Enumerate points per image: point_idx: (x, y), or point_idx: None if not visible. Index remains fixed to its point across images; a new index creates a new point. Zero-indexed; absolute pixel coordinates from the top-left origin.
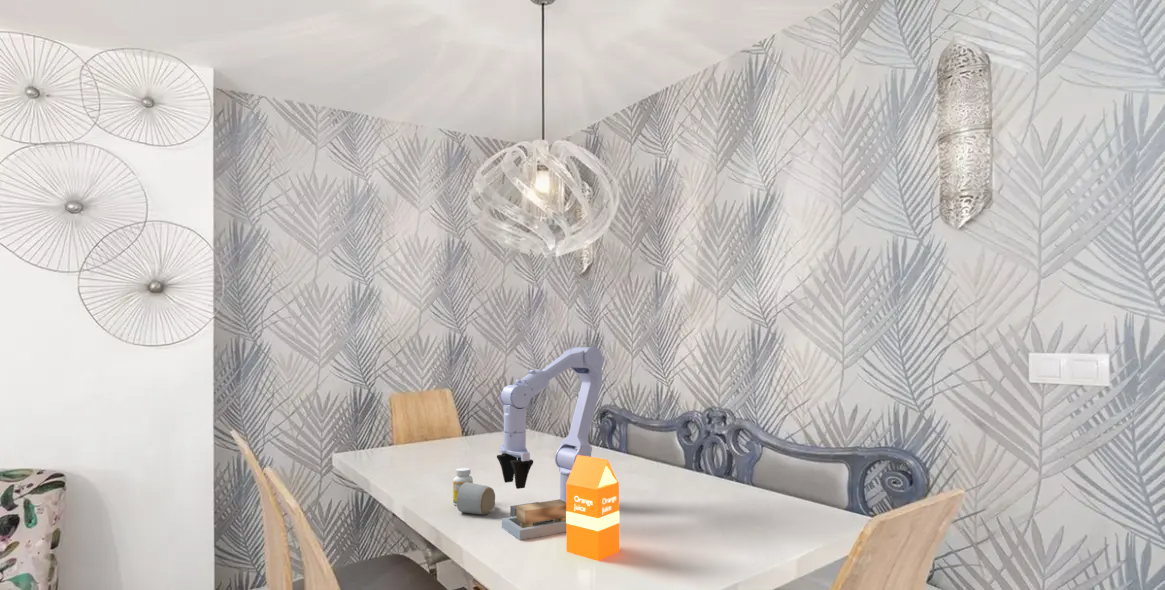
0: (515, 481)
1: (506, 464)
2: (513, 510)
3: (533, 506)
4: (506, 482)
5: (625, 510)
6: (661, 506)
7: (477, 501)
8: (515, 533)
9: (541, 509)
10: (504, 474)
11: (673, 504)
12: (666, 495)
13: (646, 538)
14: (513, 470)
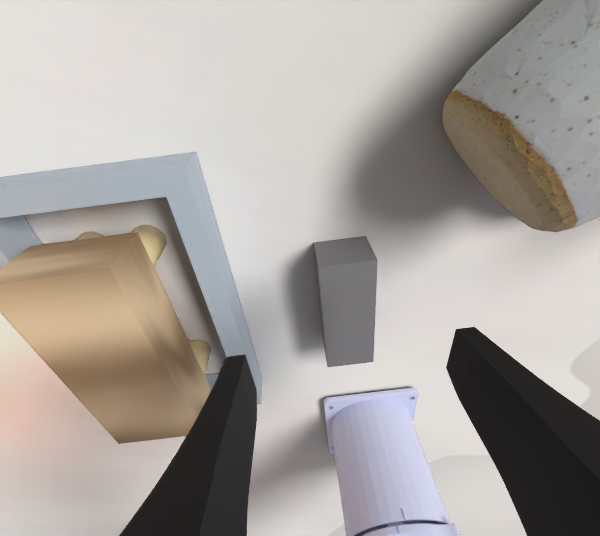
0: (222, 397)
1: (568, 496)
2: (335, 257)
3: (86, 339)
4: (455, 334)
5: (263, 474)
6: (264, 511)
7: (494, 66)
8: (11, 180)
9: (47, 356)
10: (500, 378)
11: (269, 522)
12: (333, 526)
13: (26, 460)
14: (207, 509)
